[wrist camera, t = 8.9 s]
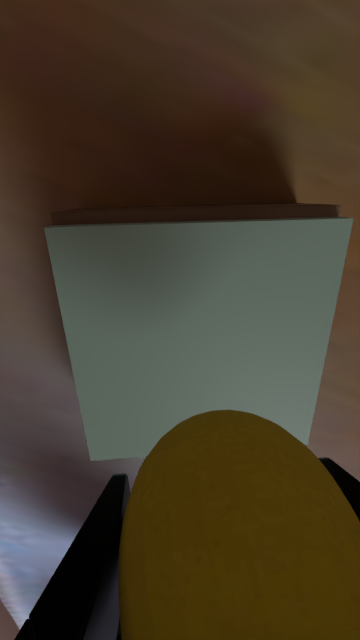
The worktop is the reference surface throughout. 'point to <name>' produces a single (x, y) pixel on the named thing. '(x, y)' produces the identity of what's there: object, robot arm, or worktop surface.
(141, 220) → the tray
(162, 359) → the lid
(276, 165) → the worktop surface
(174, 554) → the lemon
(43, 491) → the worktop surface
